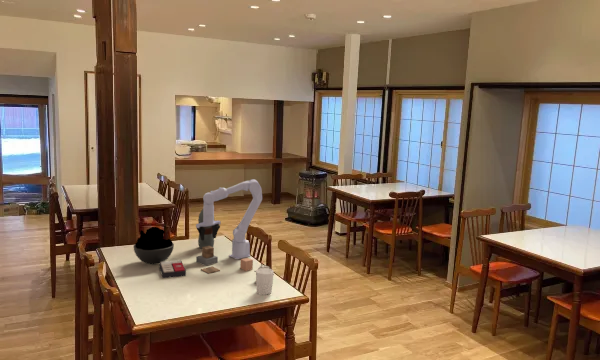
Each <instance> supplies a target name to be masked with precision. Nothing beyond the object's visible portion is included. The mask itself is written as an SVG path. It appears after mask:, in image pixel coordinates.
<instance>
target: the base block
mask: <svg viewBox="0 0 600 360" xmlns="http://www.w3.org/2000/svg"><path fill="white" fill-rule="evenodd" d="M195 260H196V261H195V262H196V263H197V264H200V265H203V266H209V265H213V264H217V263H218V262H219V261H218V260H219V257H218V256H217V255H214V257H210V258H205V257H203V256H202V254H200V255H196V259H195Z"/></svg>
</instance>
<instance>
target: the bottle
mask: <svg viewBox="0 0 600 360" xmlns="http://www.w3.org/2000/svg"><path fill="white" fill-rule="evenodd" d="M214 221H216V220H215V219H214ZM197 222H198V224H199V223H202V222H203V208H202V210H201V211H200V213H199V214H198V221H197ZM203 228H204V229H205V233H204V240H201V238H200V234H199V233H198V240H197V243H198V248H199V249H200V250H202V247H205V246H211V247H213V248H214V246H215V238H213V236H212V233H213V232H212V226H206V227H203Z"/></svg>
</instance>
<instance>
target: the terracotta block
mask: <svg viewBox="0 0 600 360" xmlns="http://www.w3.org/2000/svg"><path fill="white" fill-rule="evenodd" d="M253 266H254V259H252V258H249V257H245V258H240V268H239V269H240V270H242V269H243V270H242V271H244V272H246V271H251V270H253Z"/></svg>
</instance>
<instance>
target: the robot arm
mask: <svg viewBox="0 0 600 360" xmlns="http://www.w3.org/2000/svg"><path fill="white" fill-rule="evenodd" d="M240 191H245V192H248V191H249V192H250V193H251V196H252V200H251V201H250V203H249V205H248V206H247V207H248V208H247V209H246V211H245V213H244V214H243V216H242V219H241V221H240V222H239V223H238V224H237V227H235V228H234V229H232V235H233V239H232V241H231V244H232V245H231V254H229V255H228V257H230V258H233V259H235V260H241V259H244V258H249V257H251V255H250V252H251V251H250V248H251V246H250V242H249V240H247V239H246V234H247V231H248V228H249V226H250V224H251V222H252V220H253V218H254V217H255V214H256V212H257V210H258V209H259V207H260V205H261V203H262V201H263V192H262V191H263V188H262V187H261V185H260V183H259V181H258V180H257V179H256V178H255V179H254V178H253V179H252V178H251V179H250V180H244V181H241V182H239V183H237V184H235V185H231V186H229V187H227V188H225V187H218V189H215V190H210V192H206V193H204V194H203V197H202V198H203V206H202V209H203V222H202V223H199V222H198V223H196V224H195V227H196V230H197V231H198V235H199V234H200V238H201V240H204V233H205V229H204V228H203V227H206V226H212V232H213V233H212V236H213V238H214V239H216V238H217V234H218V232H219V230H220V228H221V220H215V205H214V202H218V201H220V200H223V199H227V198H228V197H229V195H230V194H234V193H237V192H240ZM214 220H215V221H214Z"/></svg>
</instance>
